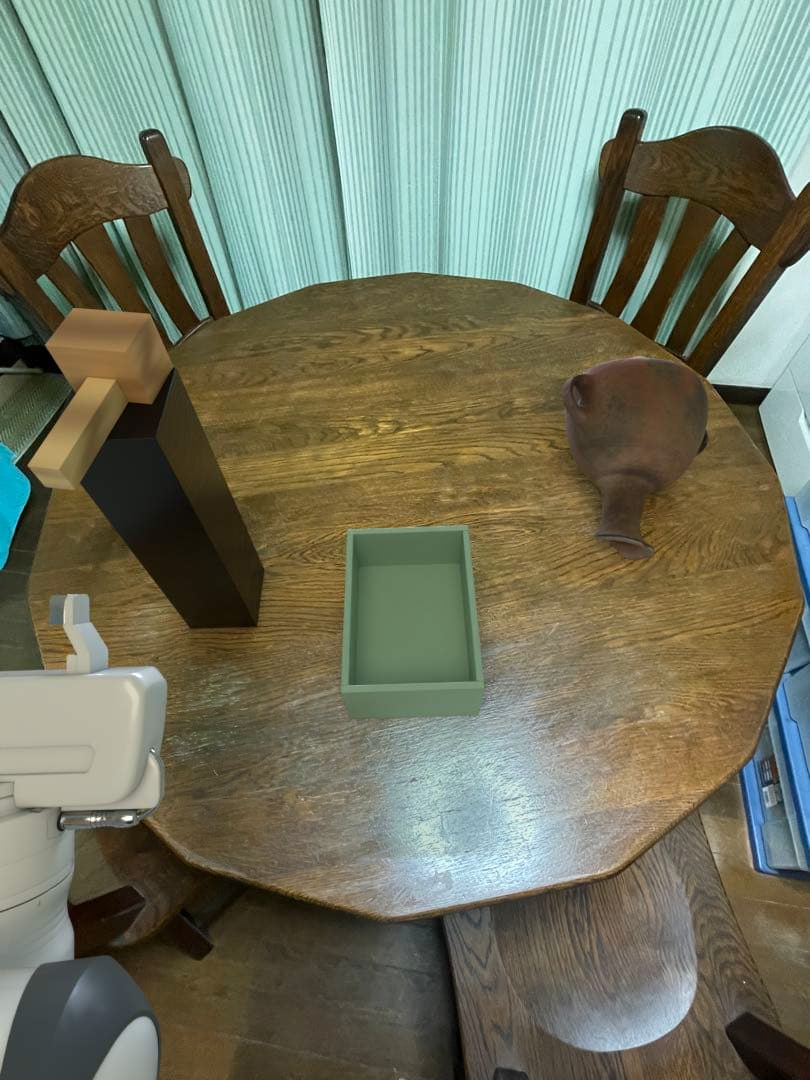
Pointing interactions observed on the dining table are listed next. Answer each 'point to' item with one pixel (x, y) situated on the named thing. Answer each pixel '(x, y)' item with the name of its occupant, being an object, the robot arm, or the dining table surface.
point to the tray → (410, 624)
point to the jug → (634, 437)
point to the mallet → (98, 386)
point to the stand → (177, 510)
